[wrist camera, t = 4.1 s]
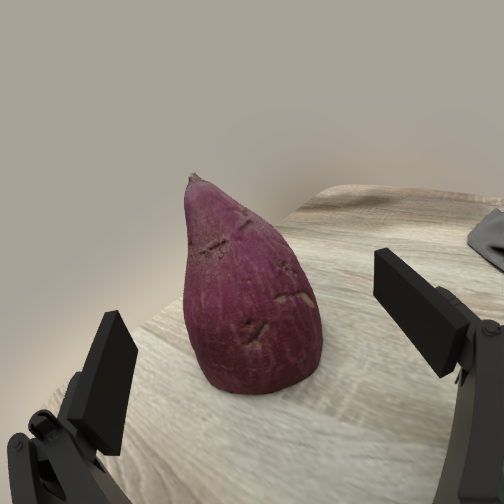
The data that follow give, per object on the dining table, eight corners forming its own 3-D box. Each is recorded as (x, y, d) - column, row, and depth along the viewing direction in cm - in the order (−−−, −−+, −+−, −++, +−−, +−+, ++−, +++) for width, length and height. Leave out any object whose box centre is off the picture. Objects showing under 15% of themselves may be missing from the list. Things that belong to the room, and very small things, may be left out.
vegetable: (193, 376, 25) (94, 230, 20) (271, 307, 30) (198, 169, 25) (266, 430, 16) (118, 213, 12) (358, 325, 21) (277, 130, 17)
